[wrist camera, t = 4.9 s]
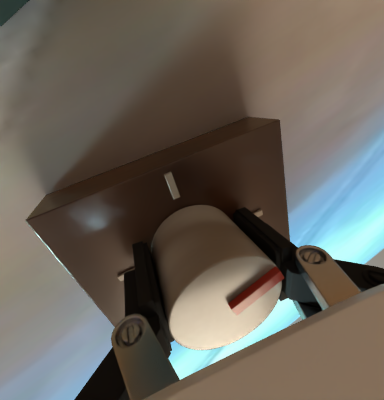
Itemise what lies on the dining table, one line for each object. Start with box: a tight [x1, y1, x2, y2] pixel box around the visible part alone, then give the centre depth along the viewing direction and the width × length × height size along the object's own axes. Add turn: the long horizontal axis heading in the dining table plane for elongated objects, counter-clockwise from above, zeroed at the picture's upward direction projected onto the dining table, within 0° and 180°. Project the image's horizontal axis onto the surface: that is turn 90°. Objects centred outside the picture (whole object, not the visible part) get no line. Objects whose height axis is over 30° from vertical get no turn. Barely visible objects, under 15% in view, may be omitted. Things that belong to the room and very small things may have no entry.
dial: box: [151, 205, 284, 350], centre depth 10 cm, size 5×5×5 cm
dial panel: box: [26, 117, 290, 327], centre depth 14 cm, size 13×10×3 cm
